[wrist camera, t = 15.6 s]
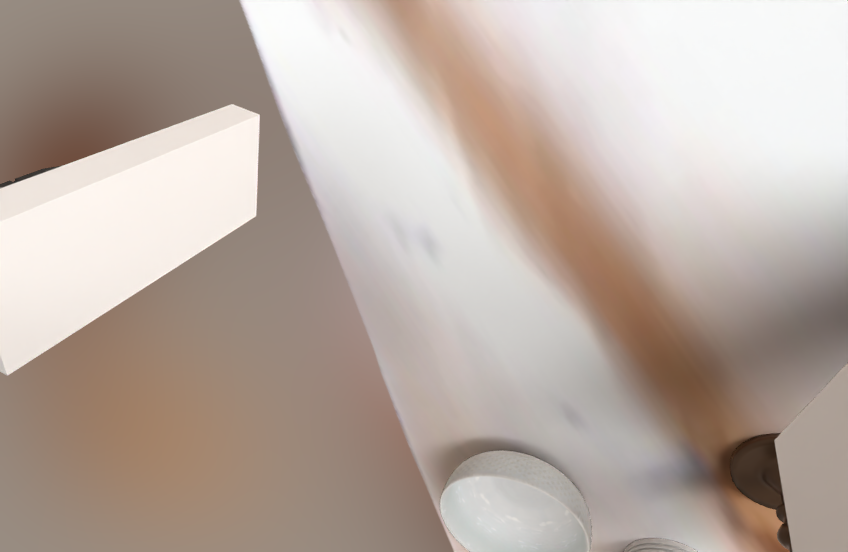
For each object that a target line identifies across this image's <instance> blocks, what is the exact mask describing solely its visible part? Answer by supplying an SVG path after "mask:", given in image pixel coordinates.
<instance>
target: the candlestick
mask: <svg viewBox="0 0 848 552" xmlns="http://www.w3.org/2000/svg"><path fill="white" fill-rule="evenodd" d="M780 434H781V433H780ZM780 434H766V435H761V436H757V437H754V438H751V439H749V440H747V441H745V442H743V443H742V444H741V445H740V446H738V447H737V448H736V450H735V451H734V452H733V454H732V457H731V460H730V470H731V476H732V480H733V482H734V484H735V485H736V487H737V488H738V489H739V490H740V491H741V492H742V493H743V494H744V495H745V496H746V497H748V498H749V499H751V500H752V501H754V502H756V503H758V504H760V505H763V506H765V507H768V508H772V509H775V510H776V514H777V517H778V519H779V520H780V521H782V522H783V523H784V524H782V525H781V527H780V528H779V530H778V532H777V538H778V541H779V542H780V544H781V545H782V546H783V547H785V548H786V549H788V550H790V552H792V546H791V540H790V533H789V527H788V521H787V515H786V509H785V503H784V497H783V491H782V484H781V478H780V472H779V466H778V460H777V454H776V448H775V442H774V440H775V439H776V438H777V437H778V436H779V435H780Z"/></svg>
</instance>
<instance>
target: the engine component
mask: <svg viewBox="0 0 848 552" xmlns="http://www.w3.org/2000/svg"><path fill="white" fill-rule="evenodd" d="M624 552H698V551H696V550H695V549H693V548H691V547H689V546H687V545H684V544H682V543H679V542H676V541H672V540H667V539H662V538H646V539H641V540H637V541H634V542H632V543H631V544H629V545H628V546H627V547H626V548H625V550H624Z"/></svg>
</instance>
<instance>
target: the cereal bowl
mask: <svg viewBox="0 0 848 552" xmlns="http://www.w3.org/2000/svg"><path fill="white" fill-rule="evenodd" d="M440 512H441V516H442V518H443V521H444V523H445V525H446V526H447V528H448V530H449V531H450V533H451V534H452V535H453V537H454V538H455V539H456V540H457V541H458V542H459V543H460V544H461V545H462V546H463V547H464V548H466V549H467V550H468V551H469V552H590V549H591V537H592V526H591V519H590V513H589V510H588V507H587V505H586V502H585V500H584V499H583V497H582V495H581V494H580V492H579V490H578V489H577V488H576V487H575V485H574V484H573V483H572V482H571V481H570V480H569V479H568V478H567V477H566V476H565V475H564V474H563V473H561V472H560V471H559V470H557V469H556V468H555V467H553V466H552V465H550V464H549V463H546V462H544V461H542V460H541V459H538V458H536V457H533V456H530V455H527V454H523V453H519V452H513V451H502V450H501V451H489V452H483V453H481V454H477V455H475V456H472V457H471V458H469V459H467V460H466V461H464V462H462V463H461V465H459V466H458V467H457V468H456V469H455V470H454V472H453V473H452V474H451V476H450V478H449V479H448V481H447V483H446V484H445V487H444V489H443V492H442V494H441V497H440Z"/></svg>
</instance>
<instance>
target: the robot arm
mask: <svg viewBox="0 0 848 552" xmlns="http://www.w3.org/2000/svg"><path fill="white" fill-rule="evenodd" d="M259 121H260V115H259V114H256V113H254V112H251V111H248V110H246V109H243V108H241V107H238V106H236V105H233V104H232V105H229V106H226V107H223V108H220V109H217V110H215V111H212V112H209V113H206V114H204V115H201V116H198V117H195V118H193V119H190V120H187V121H185V122H182V123H179V124H177V125H174V126H171V127H168V128H165V129H163V130H160V131H157V132H154V133H152V134H149V135H146V136H143V137H141V138H138V139H135V140H132V141H130V142H127V143H124V144H121V145H119V146H116V147H113V148H110V149H108V150H105V151H103V152H99V153H97V154H94V155H91V156H88V157H86V158H83V159H80V160H77V161H75V162H72V163H69V164H67V165H64V166H58V167H52V168H45V169H41V170H38V171H36V172H33V173H30V174H27V175H24V176H22V177H19V178H16V179H15V181H14V182H12V181H8V182H5V183H2V184H0V372H2V373H4V374H6V375H9V374H10V373H12V372H14V371H15V370H17V369H18V368H20V367H21V366H23V365H24V364H26V363H28V362H29V361H31V360H32V359H34V358H35V357H37V356H38V355H40V354H42V353H43V352H45V351H46V350H48V349H49V348H51V347H52V346H54V345H56V344H57V343H59V342H60V341H62V340H64V339H65V338H66V337H68V336H70V335H71V334H73V333H74V332H76V331H78V330H79V329H81V328H82V327H84V326H85V325H87V324H89V323H90V322H92V321H93V320H95V319H96V318H98V317H99V316H101V315H103V314H104V313H106V312H107V311H109V310H110V309H112V308H113V307H115V306H117V305H118V304H120V303H121V302H123V301H124V300H126V299H127V298H129V297H130V296H132V295H134V294H135V293H137V292H138V291H140V290H142V289H143V288H145V287H146V286H148V285H149V284H151V283H153V282H154V281H156V280H157V279H159V278H160V277H162V276H163V275H165V274H167V273H168V272H170V271H171V270H173V269H174V268H176V267H177V266H179V265H180V264H182V263H184V262H185V261H187V260H188V259H190V258H191V257H193V256H194V255H196V254H198V253H199V252H201V251H202V250H204V249H206V248H207V247H209V246H210V245H212V244H213V243H215V242H217V241H218V240H220V239H221V238H223V237H224V236H226V235H227V234H229V233H231V232H232V231H233V230H235V229H237V228H238V227H240V226H241V225H243V224H244V223H246V222H248V221H249V220H251V219H252V218H254V217H256V209H257V180H258V151H259V150H258V149H259V148H258V147H259ZM774 442H775V448H776V454H777V460H778V466H779V472H780V478H781V484H782V491H783V497H784V503H785V509H786V515H787V521H788V527H789V533H790V540H791V546H792V552H848V363H847V364H846V365H845V366H844V367H843V368H842V369H841V370H840V371H839V372H838V373H837V374H836V375H835V377H834V378H833V379H832V380H831V381H830V382H829V383H828V384H827V385H826V386H825V387H824V388H823V389H822V390H821V391H820V392H819V394H818V395H817V396H816V397H815V398H814V399H813V400H812V401H811V402H810V403H809V404H808V405H807V406H806V407H805V408H804V409H803V411H802V412H801V413H800V414H799V415H798V416H797V417H796V418H795V419H794V420H793V421H792V422H791V423H790V424H789V425H788V426H787V427H786V429H785V430H784V431H783V432H782V433H781V434H780V435H779V436H778V437H777V438H776V439H775V440H774Z"/></svg>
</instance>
